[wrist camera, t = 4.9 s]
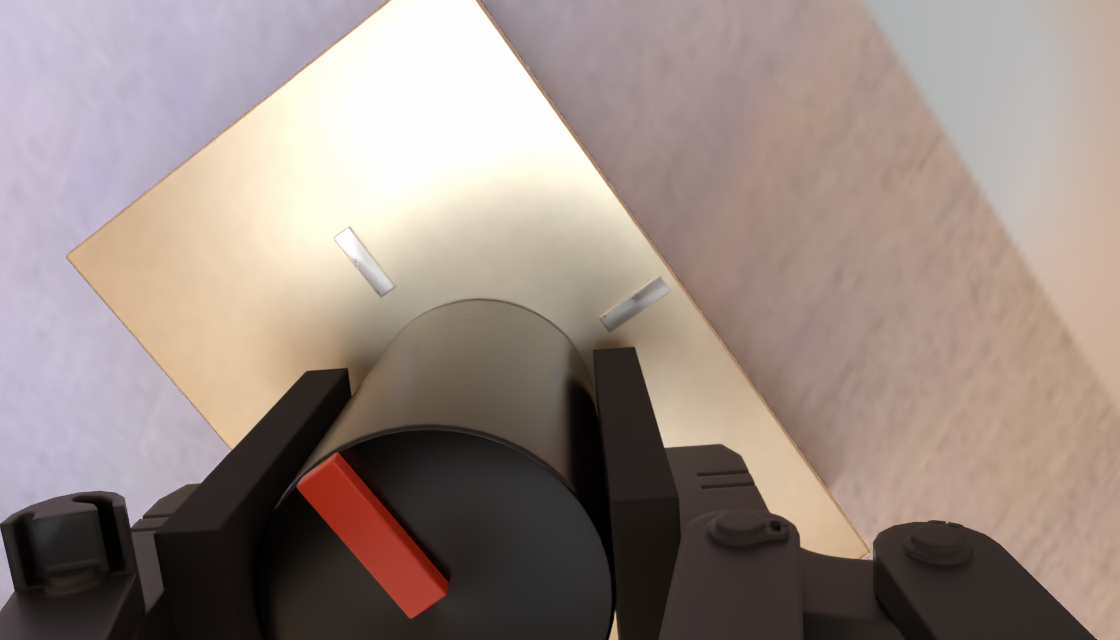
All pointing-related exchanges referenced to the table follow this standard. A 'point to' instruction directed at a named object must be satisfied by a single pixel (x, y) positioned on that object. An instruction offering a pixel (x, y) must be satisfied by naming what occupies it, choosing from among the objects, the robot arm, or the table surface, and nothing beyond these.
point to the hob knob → (450, 495)
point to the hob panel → (420, 245)
